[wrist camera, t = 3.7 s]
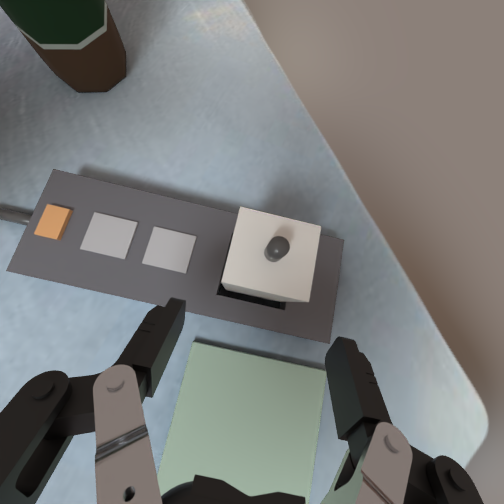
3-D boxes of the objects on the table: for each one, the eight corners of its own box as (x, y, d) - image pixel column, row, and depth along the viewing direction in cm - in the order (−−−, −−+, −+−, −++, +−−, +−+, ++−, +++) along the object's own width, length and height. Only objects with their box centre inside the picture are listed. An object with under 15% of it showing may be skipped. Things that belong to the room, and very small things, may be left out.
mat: (150, 503, 18) (148, 509, 17) (193, 340, 20) (192, 341, 20) (301, 532, 18) (303, 539, 18) (324, 369, 21) (326, 371, 20)
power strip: (-31, 259, 20) (-74, 253, 17) (15, 169, 22) (-17, 150, 19) (318, 338, 21) (331, 344, 18) (332, 246, 23) (346, 238, 20)
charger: (225, 290, 21) (219, 279, 10) (236, 247, 22) (241, 194, 11) (273, 301, 22) (319, 302, 10) (282, 258, 22) (333, 216, 11)
